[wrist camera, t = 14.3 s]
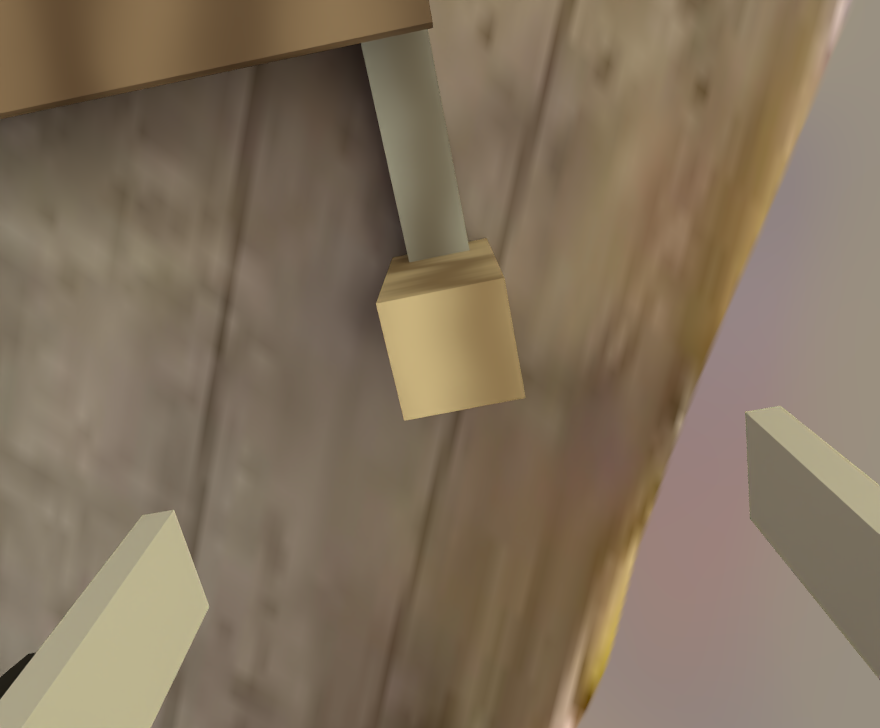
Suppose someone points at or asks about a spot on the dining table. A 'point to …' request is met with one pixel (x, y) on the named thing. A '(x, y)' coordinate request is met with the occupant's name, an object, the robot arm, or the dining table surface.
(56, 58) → the shelf
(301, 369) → the dining table surface
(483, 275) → the tool
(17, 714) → the robot arm
